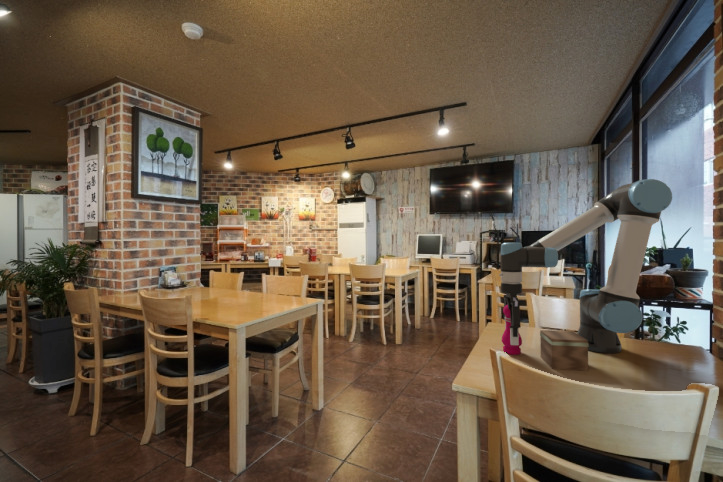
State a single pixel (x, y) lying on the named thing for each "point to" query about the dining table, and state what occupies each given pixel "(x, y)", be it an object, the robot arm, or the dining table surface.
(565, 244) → the robot arm
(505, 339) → the pepper mill
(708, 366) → the dining table surface
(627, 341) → the dining table surface
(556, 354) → the walnut box
